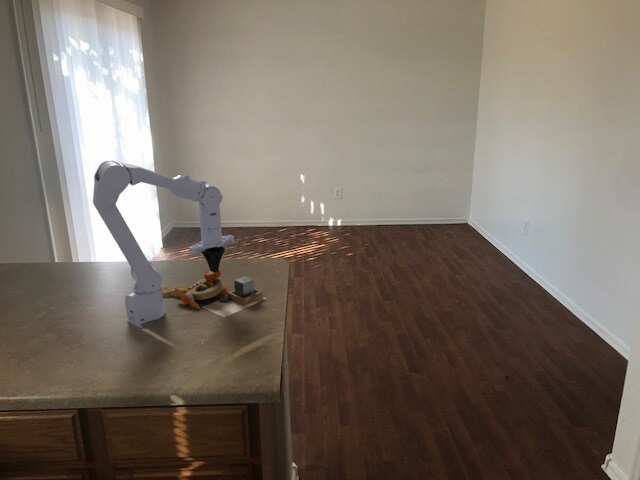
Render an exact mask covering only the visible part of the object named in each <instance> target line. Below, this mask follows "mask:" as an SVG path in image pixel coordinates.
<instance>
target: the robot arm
mask: <svg viewBox="0 0 640 480" xmlns="http://www.w3.org/2000/svg"><path fill="white" fill-rule="evenodd" d="M93 177H94V181H93V182H94V183H93V196H92V203H93V206H94V207H95V209H96V210H97V212H98V214H99V217H101V219H102V221H103V222H104V225H105V226H106V228H107V229H108V231H109V233H110V234H111V236H112V238H113V239H114V241H115V242H116V244H117V245H118V248H119V249H120V251H121V252H122V255H123V256H124V258H125V260H126V261H127V263H128V265H129V267H130V274H131V277H132V279H133V280H134V281H135V284H134V285H133V291H132V292H130V293H128V294H126V295H125V297H124V304H125V310H126V319H125V320H126V321H127V322H129V323H130V324H132V325H134V326H136V327H137V328H139V329H144V328H145V326H144V325H143V324H145V323H148V322H152V321H155V320H159V319H161V318H162V317H163V316H165V303H164V298H163V294H162V289H163V288H162V284H163V277H162V275H161V274H162V273H160V272H159V271H158V270H157V269H156V268H155V266H154V264H153V263H152V262H150V261H149V260H148V258H147V257H146V255H145V254H144V251H143V250H142V248H141V246H140V245H139V243H138V241H137V239H136V238H135V236H134V234H133V233H132V231H131V229H130V227H129V226H128V224H127V222H126V221H125V219H124V217H123V215H122V213H121V212H120V210H119V208H118V207H117V202H118V201H119V197H120V195H121V194H122V193H123V192H124V191H125V190H126V189H127V187H128V186H129V185H131V186H132V187H133V186H135V185H138V184H140V183H144V184H147V185H151V186H155V187H159V188H162V189H166V190H169V191H170V192H171V195H172V196H174V197H177V198H181V199H185V200H188V201H191V202H195V203H198V208H199V224H200V225H199V226H200V237H201V241H199V242H198V243H195V244H192V245H191V246H189V247H188V253H189V254H190V255H192V256H194V255H197V254H198V253H201V255H203V258H205V260H206V262H207V265H208V267H209V269H210V271H211V272H214V273H216V272H218V270H220V265H221V261H222V258H223V255H224V254H225V251H226V248H225V247H223V246H224V245H227V244H230V243H231V244H233V243H235V236H234V235H232V234H228V235H223V231H222V220H221V219H222V218H221V207H220V204H221V203H222V200H223V195H222V192H221V190H220V189H219V188H218V187H217V186H215V185H213V184H211V183H208V182H206V181H205V180H202V179H201V180H197V179H193V178H190V175H188V174H185V173H184V174H182V175H181V174H178V175H176V176H174V177H170V176H167V175H165V174H162V173H159V172H156V171H154V170H150V169H147V168H145V167H142V166H139V165H134V164H130V163H125V162H118V161H115V160H111V159H108V160H105V161H103V162H101V163H100V164H99V166H98V168H97V169H96V171H95V173H94V175H93Z"/></svg>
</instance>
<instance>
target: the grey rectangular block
mask: <svg viewBox="0 0 640 480" xmlns="http://www.w3.org/2000/svg"><path fill="white" fill-rule="evenodd" d="M254 281H255V280H254V278H253V279H252V278H250V277H248V276H241V277H238V278H236V279H234V280H233V282H234V283H233V284H234V290H235V295H237V296H240V297H242V298H246V297H248V296H250V295H253V294H254V289H255V284H254V283H255V282H254Z"/></svg>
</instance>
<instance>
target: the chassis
mask: <svg viewBox="0 0 640 480" xmlns="http://www.w3.org/2000/svg"><path fill="white" fill-rule="evenodd" d="M267 299H268V298H266V297H264V296H263V291H262V290H259V289H257V288H254V294H253V295H250V296H248V297H246V298H242V297H240V296H237V295H235V289H234V290H231V291H229V292H228V291H227V294H224V295H221V296H220V297H219V299H218V300H216V301H214V302H212V303H209V304H207V305H204V306H202V307H201V308H203V309H205V310H207V311H209V312H211V313H213V314H216V315H218V316H220V317H223V318H227V317H229V316H232V315H234V314H236V313H238V312H240V311H242V310H245V309H247V308H249V307H252V306H254V305H256V304H258V303H260V302H263V301H265V300H267Z"/></svg>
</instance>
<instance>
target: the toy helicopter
mask: <svg viewBox="0 0 640 480" xmlns="http://www.w3.org/2000/svg"><path fill="white" fill-rule="evenodd" d="M221 275H222V273H221V270H220V269H219V270H218V272H216V273H214V272H211V271H210V268H209V269H208V270H206V271H204V274H203V276H204V278H199V279H198V280H197V281H196V282H194V283H191V284H190V285H184V286H174V285H169V286H166V287H163V288H162V294H163V299H165V298H168V297H179V298H180V299H181V301H182V303H183V304H184V305H189V307H191V308H195V309H197V310H201V307H200V305H199V304H198V303H197V302H196V301H203V300H208V299H211V298H220V296H221V295H224V294H227V295H228V289H227V287H226V286H225V285H223V283H222V281H221V280H220V277H221Z"/></svg>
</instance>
